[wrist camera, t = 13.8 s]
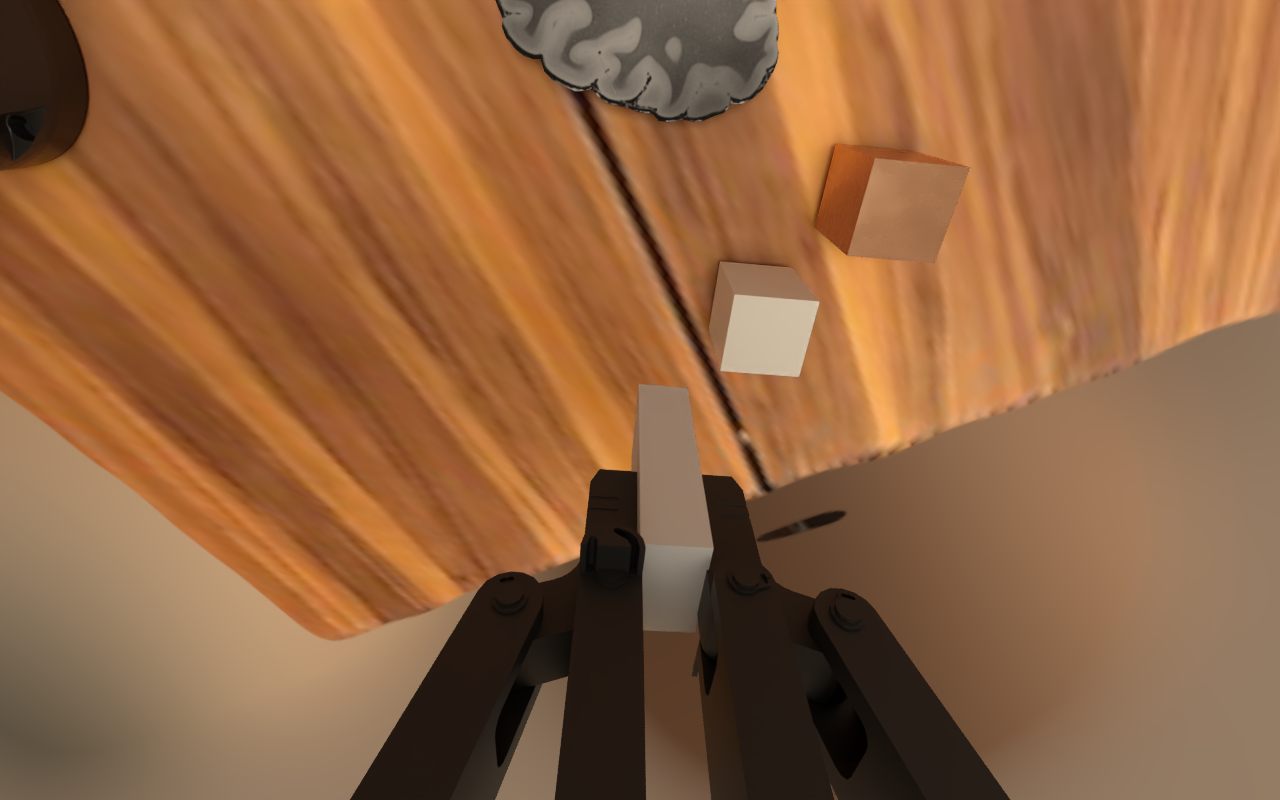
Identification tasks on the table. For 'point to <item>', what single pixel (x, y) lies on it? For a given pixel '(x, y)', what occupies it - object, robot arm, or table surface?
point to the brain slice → (651, 50)
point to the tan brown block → (889, 202)
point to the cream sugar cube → (761, 319)
